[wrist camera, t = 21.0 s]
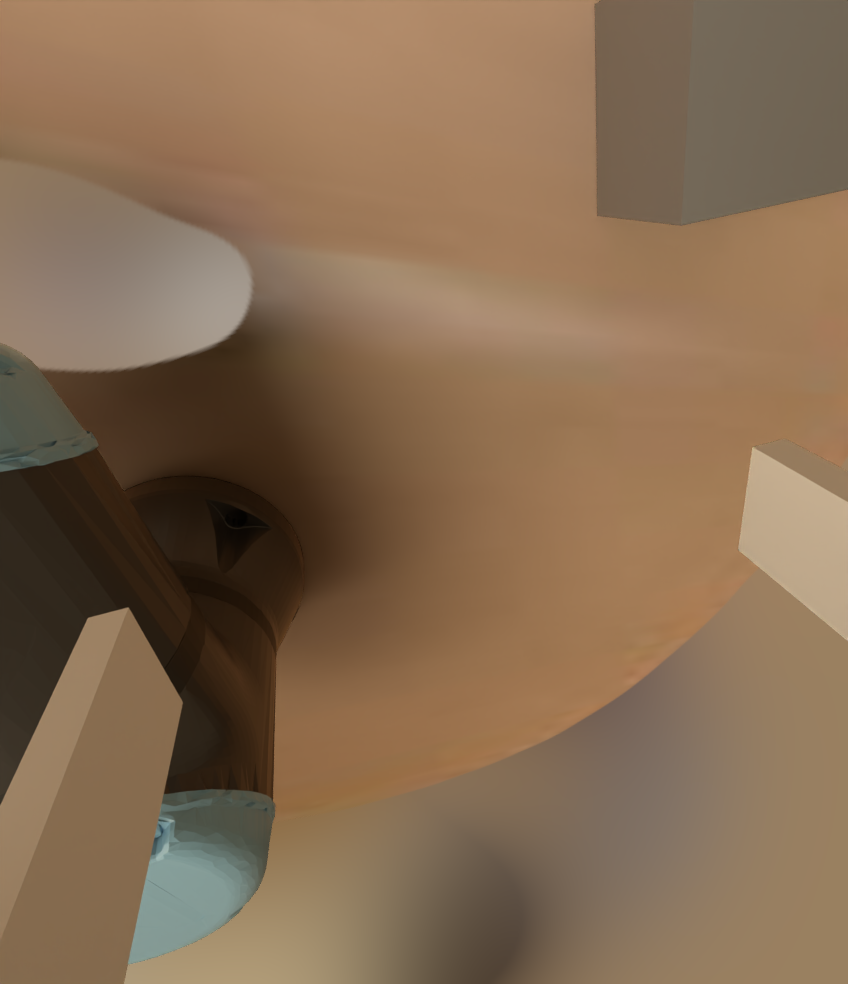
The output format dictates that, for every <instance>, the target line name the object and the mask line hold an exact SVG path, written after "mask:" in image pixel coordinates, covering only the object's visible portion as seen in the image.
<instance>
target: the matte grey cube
mask: <svg viewBox="0 0 848 984" xmlns="http://www.w3.org/2000/svg"><path fill="white" fill-rule="evenodd" d="M595 56H596V139H597V216H603V217H612V218H621V219H629V220H638V221H646V222H655V223H663V224H672V225H681V226H682V225H686V224H691V223H695V222H700V221H705V220H709V219H714V218H718V217H723V216H728V215H732V214H737V213H741V212H746V211H751V210H755V209H760V208H765V207H769V206H774V205H778V204H783V203H788V202H792V201H797V200H801V199H806V198H811V197H815V196H820V195H824V194H829V193H834V192H838V191H843V190H848V0H601V1H599V2H598V3H596V4H595Z"/></svg>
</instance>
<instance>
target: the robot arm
mask: <svg viewBox="0 0 848 984" xmlns="http://www.w3.org/2000/svg"><path fill="white" fill-rule="evenodd" d="M98 445H99V444H98V442H97V440H96V438H95V437H94V435H93V434H92V432H89V431H86V430H84V429H83V428H82V427H81V425H80V424H79V422H78V421H77V420H76V418H75V417H74V416H73V414H72V413H71V412H70V410H69V409H68V408H67V406H66V405H65V404H64V402H63V401H62V400H61V398H60V397H59V395H58V394H57V393H56V391H55V390H54V389H53V387H52V386H51V385H50V383H49V382H48V381H47V379H46V378H45V377H44V375H43V374H42V372H41V371H40V370H39V368H38V367H37V366H36V365H35V364H34V363H33V362H32V361H31V360H30V359H28V358H27V357H26V356H25V355H23V354H22V353H20V352H18V351H17V350H15V349H13V348H11V347H9V346H7V345H4V344H1V343H0V984H124V980H125V975H126V970H127V966H128V964H133V963H137V962H141V961H145V960H148V959H151V958H155V957H158V956H160V955H164V954H166V953H169V952H172V951H175V950H177V949H180V948H182V947H185V946H187V945H189V944H192V943H194V942H196V941H198V940H200V939H202V938H204V937H206V936H207V935H209V934H211V933H213V932H214V931H216V930H217V929H219V928H221V927H222V926H223V925H224V924H226V923H227V922H229V921H230V920H231V919H232V918H233V917H235V916H236V915H237V914H238V913H239V912H240V910H241V909H242V908H243V906H244V905H245V904H246V903H247V902H248V901H249V900H250V899H251V897H252V896H253V895H254V893H255V892H256V891H257V890H258V888H259V886H260V884H261V881H262V879H263V876H264V873H265V870H266V865H267V858H268V850H269V842H270V835H271V828H272V822H273V820H274V817H275V803H274V802H273V774H274V731H275V688H276V652H277V650H278V648H279V646H280V644H281V643H282V641H283V639H284V637H285V635H286V633H287V630H288V628H289V626H290V624H291V622H292V621H293V619H294V617H295V615H296V613H297V611H298V608H299V606H300V602H301V599H302V594H303V587H304V565H303V555H302V550H301V546H300V543H299V541H298V538H297V536H296V534H295V532H294V530H293V529H292V527H291V525H290V524H289V523H288V521H287V520H286V519H285V518H284V516H283V515H282V514H281V513H280V512H279V511H278V510H277V509H276V508H275V507H273V506H272V505H271V504H270V503H268V502H267V501H266V500H264V499H263V498H261V497H260V496H258V495H257V494H255V493H253V492H251V491H249V490H247V489H245V488H243V487H240V486H237V485H235V484H232V483H229V482H225V481H221V480H217V479H212V478H205V477H194V476H179V477H168V478H162V479H157V480H152V481H149V482H145V483H142V484H139V485H137V486H134V487H132V488H130V489H128V490H126V491H123V489H122V488H121V486H120V485H119V483H118V482H117V480H116V479H115V477H114V475H113V474H112V472H111V471H110V469H109V467H108V466H107V464H106V463H105V461H104V459H103V458H102V456H101V455H100V453H99V451H98V450H97V448H96V447H98ZM738 550H739V551H740V552H741V553H742V554H743V555H745V556H746V557H747V558H748V559H749V560H751V561H752V562H753V563H754V564H755V565H757V566H758V567H759V568H760V569H762V570H763V571H764V572H765V573H766V574H768V575H769V576H770V577H771V578H772V579H774V580H775V581H776V582H777V583H778V584H780V585H781V586H782V587H783V588H784V589H786V590H787V591H788V592H789V593H790V594H792V595H793V596H794V597H795V598H797V599H798V600H799V601H800V602H801V603H803V604H804V605H805V606H806V607H807V608H808V609H810V610H811V611H812V612H813V613H814V614H816V615H817V616H818V617H819V618H821V619H822V620H823V621H824V622H825V623H827V624H828V625H829V626H830V627H831V628H833V629H834V630H835V631H836V632H837V633H839V634H840V635H841V636H842V637H843V638H845V639H846V640H847V641H848V471H846V470H844V469H842V468H840V467H839V466H837V465H835V464H833V463H831V462H829V461H827V460H825V459H823V458H821V457H820V456H818V455H816V454H814V453H812V452H810V451H808V450H806V449H804V448H802V447H800V446H799V445H797V444H795V443H793V442H791V441H789V440H787V439H781V440H777V441H773V442H770V443H766V444H762V445H758V446H754V447H752V454H751V461H750V468H749V476H748V483H747V490H746V497H745V504H744V511H743V518H742V526H741V533H740V540H739V547H738Z"/></svg>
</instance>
